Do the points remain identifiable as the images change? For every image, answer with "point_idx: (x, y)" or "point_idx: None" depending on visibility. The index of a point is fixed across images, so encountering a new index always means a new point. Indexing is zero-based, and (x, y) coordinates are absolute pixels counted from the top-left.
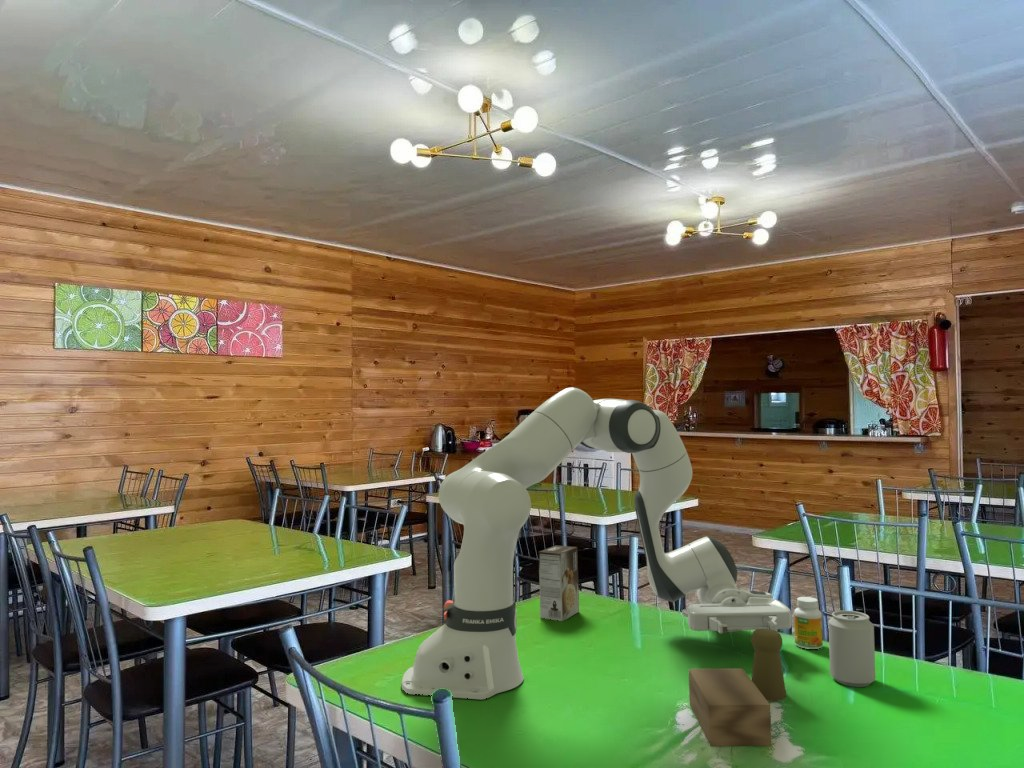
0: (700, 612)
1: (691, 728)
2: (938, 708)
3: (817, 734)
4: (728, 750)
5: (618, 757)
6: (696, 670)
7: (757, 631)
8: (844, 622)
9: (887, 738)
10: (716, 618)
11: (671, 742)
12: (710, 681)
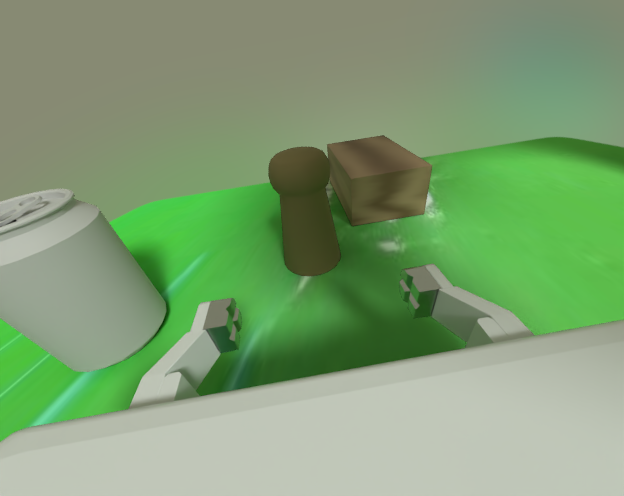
0: (615, 334)
1: None
2: None
3: None
4: None
5: (448, 154)
6: (418, 164)
7: (315, 149)
8: (75, 199)
9: (222, 204)
10: (477, 321)
11: None
12: (391, 154)
